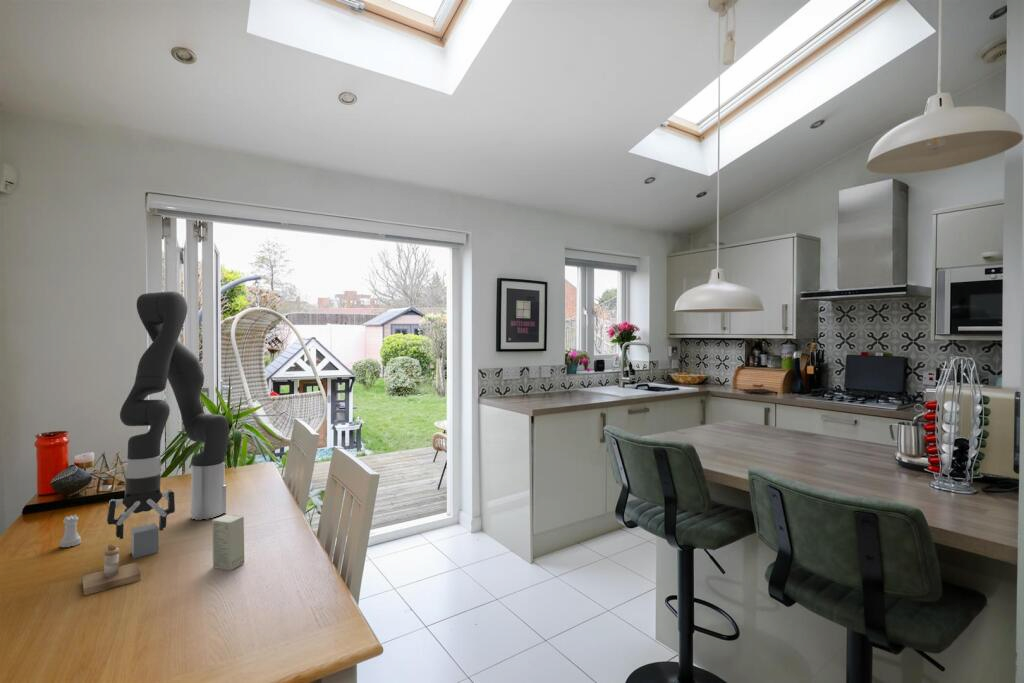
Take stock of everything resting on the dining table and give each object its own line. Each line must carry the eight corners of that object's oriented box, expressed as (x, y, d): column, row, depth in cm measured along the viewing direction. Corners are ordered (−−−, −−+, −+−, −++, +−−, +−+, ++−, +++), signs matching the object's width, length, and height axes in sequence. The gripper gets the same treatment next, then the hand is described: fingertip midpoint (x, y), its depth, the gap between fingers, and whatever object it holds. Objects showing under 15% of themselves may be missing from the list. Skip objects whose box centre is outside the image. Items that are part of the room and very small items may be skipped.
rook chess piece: (67, 549, 129) (68, 520, 129) (55, 547, 130) (55, 518, 130) (85, 542, 133) (86, 514, 133) (73, 541, 134) (73, 513, 134)
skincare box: (244, 563, 121) (245, 516, 122) (229, 571, 117) (230, 522, 117) (226, 559, 123) (227, 513, 124) (210, 567, 119) (211, 519, 119)
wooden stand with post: (135, 568, 118) (136, 534, 118) (140, 580, 113) (141, 544, 113) (81, 582, 111) (82, 546, 111) (84, 595, 105) (84, 557, 106)
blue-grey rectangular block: (154, 546, 131) (155, 522, 131) (158, 552, 127) (158, 528, 127) (131, 552, 127) (131, 527, 127) (133, 558, 124) (134, 533, 124)
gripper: (173, 467, 135) (171, 524, 135) (107, 475, 125) (105, 537, 125) (177, 471, 130) (175, 531, 129) (110, 481, 120) (107, 545, 119)
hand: (141, 534), depth 127 cm, fingers open, 8 cm apart
